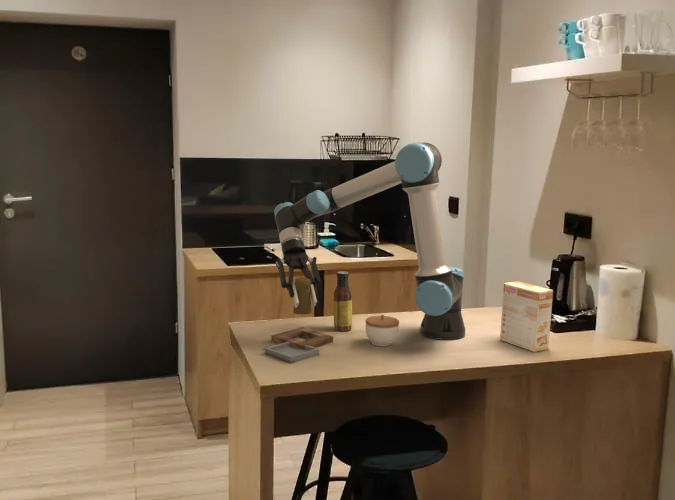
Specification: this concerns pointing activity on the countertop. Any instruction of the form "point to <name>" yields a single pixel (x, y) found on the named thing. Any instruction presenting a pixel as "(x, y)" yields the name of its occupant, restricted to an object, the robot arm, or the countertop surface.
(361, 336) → the countertop surface
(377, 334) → the lidded jar
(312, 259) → the robot arm
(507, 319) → the coffeecake box
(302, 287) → the olive brown bulbous peg
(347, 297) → the sauce bottle
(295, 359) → the tray
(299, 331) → the socket block
